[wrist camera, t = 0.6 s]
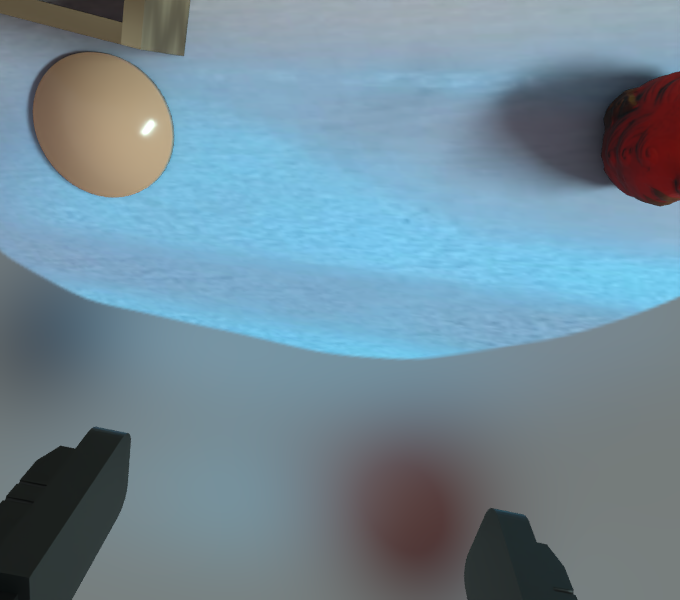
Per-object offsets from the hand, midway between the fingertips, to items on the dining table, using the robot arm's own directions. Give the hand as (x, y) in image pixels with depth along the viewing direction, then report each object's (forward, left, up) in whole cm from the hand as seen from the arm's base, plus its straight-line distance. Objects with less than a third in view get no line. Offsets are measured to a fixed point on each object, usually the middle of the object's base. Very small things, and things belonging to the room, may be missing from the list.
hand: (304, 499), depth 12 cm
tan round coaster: (-2, -17, -27) cm, 32 cm away
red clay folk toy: (-10, +17, -27) cm, 34 cm away
